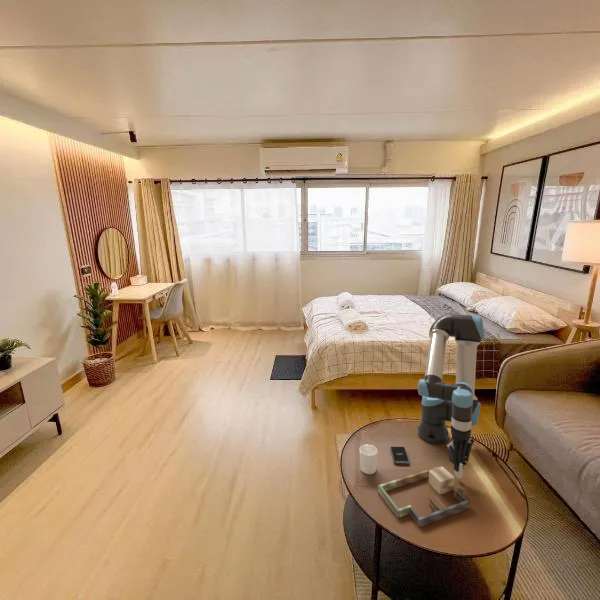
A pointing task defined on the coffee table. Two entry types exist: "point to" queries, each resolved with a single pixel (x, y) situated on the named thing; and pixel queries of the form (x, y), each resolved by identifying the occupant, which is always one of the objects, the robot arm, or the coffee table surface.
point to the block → (441, 480)
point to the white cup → (368, 458)
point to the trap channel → (434, 502)
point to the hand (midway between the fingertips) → (458, 476)
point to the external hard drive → (399, 455)
